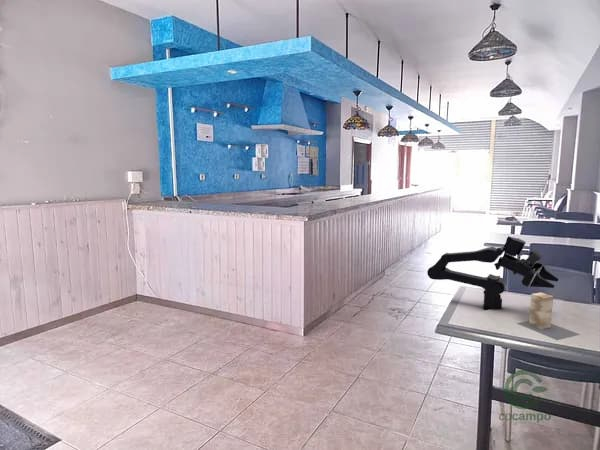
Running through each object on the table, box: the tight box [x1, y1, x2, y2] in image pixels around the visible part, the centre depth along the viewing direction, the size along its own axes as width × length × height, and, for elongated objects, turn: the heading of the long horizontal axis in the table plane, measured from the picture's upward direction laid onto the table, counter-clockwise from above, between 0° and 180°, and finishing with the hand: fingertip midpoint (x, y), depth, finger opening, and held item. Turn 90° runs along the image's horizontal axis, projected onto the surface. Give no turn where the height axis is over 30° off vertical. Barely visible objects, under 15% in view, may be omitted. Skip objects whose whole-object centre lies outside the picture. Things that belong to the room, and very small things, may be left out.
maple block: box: [528, 292, 554, 329], centre depth 147 cm, size 5×5×12 cm
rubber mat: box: [516, 320, 581, 341], centre depth 146 cm, size 16×12×1 cm
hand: (556, 283), depth 152 cm, fingers open, 9 cm apart
